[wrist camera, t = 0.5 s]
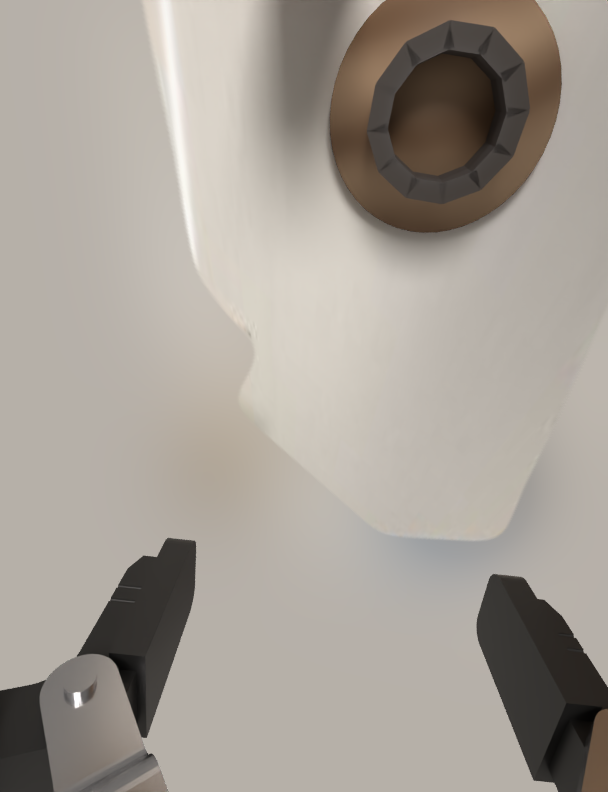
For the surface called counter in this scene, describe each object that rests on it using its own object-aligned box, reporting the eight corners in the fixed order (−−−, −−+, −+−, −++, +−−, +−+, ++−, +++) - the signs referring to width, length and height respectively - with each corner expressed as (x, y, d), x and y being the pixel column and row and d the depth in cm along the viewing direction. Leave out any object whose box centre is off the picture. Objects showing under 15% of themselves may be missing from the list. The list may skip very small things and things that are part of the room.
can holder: (299, 44, 28) (289, 38, 25) (541, -85, 24) (567, -113, 21) (367, 255, 35) (366, 272, 32) (566, 185, 30) (589, 196, 27)
